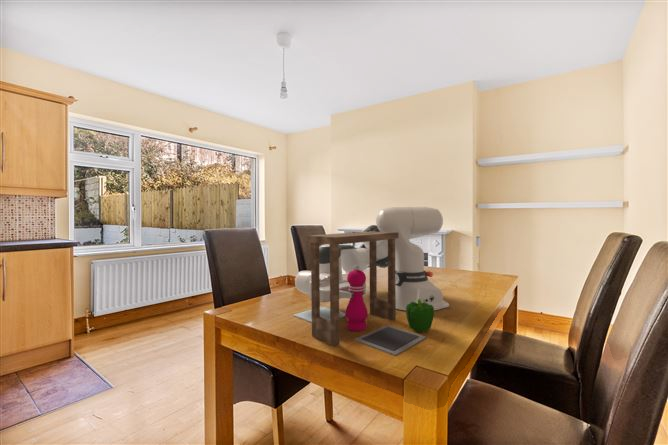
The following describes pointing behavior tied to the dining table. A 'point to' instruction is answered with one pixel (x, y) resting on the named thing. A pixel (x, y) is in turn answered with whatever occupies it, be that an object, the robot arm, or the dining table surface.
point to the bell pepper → (419, 316)
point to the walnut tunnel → (378, 307)
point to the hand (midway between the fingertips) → (358, 293)
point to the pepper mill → (356, 301)
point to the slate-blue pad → (323, 313)
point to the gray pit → (390, 339)
